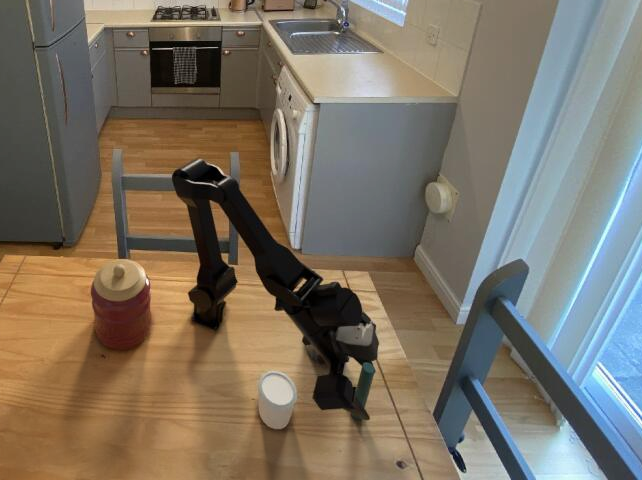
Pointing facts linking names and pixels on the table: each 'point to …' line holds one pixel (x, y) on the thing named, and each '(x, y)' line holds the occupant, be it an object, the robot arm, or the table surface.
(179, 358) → the table surface
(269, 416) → the white cylindrical container
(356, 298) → the robot arm
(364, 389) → the teal green rod
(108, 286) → the kitchen canister
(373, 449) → the table surface
